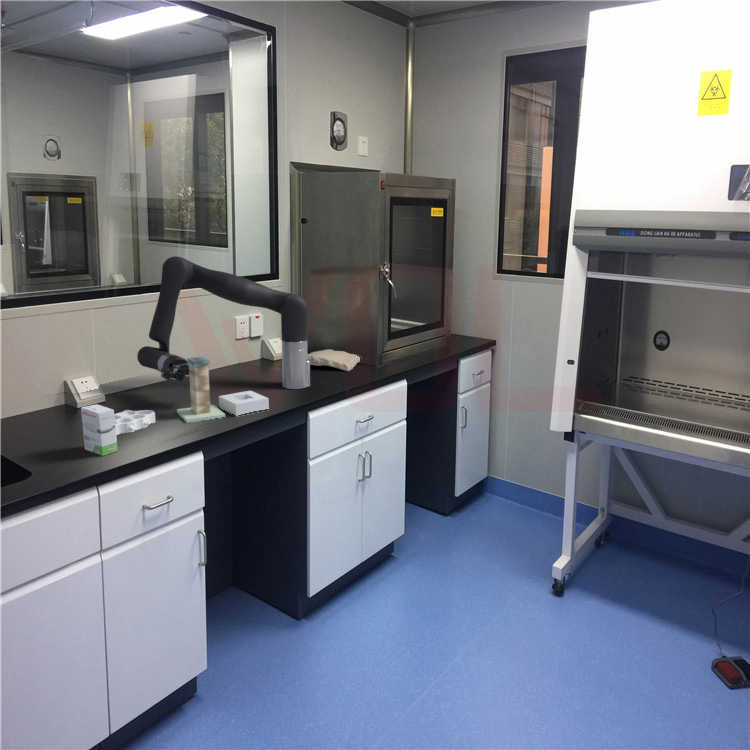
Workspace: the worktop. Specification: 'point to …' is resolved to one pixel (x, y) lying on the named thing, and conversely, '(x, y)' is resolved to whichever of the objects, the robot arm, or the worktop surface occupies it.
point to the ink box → (99, 429)
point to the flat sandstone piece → (334, 359)
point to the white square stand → (243, 402)
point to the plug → (199, 385)
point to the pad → (193, 417)
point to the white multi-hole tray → (133, 420)
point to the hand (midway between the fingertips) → (194, 375)
